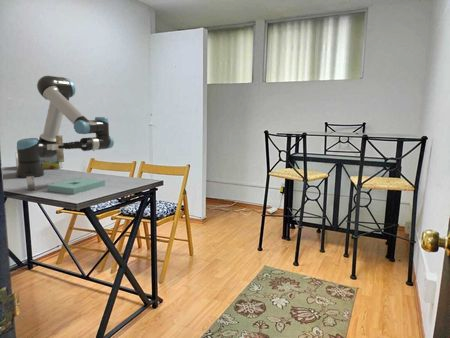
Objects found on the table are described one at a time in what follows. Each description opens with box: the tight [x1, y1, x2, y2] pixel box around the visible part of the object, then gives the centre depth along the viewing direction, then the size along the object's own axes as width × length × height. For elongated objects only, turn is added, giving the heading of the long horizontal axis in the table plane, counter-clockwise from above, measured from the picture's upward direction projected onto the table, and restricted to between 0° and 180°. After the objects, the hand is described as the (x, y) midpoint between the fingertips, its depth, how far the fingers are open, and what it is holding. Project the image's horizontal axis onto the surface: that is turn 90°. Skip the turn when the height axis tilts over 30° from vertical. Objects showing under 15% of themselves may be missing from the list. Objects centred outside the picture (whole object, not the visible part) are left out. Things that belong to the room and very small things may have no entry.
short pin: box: [26, 176, 36, 191], centre depth 165 cm, size 3×3×7 cm
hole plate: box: [46, 177, 106, 195], centre depth 171 cm, size 18×22×3 cm
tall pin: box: [55, 134, 65, 163], centre depth 170 cm, size 3×3×14 cm
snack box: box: [40, 155, 63, 170], centre depth 227 cm, size 21×6×15 cm, turn 90°
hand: (49, 147), depth 165 cm, fingers closed on tall pin, 3 cm apart
